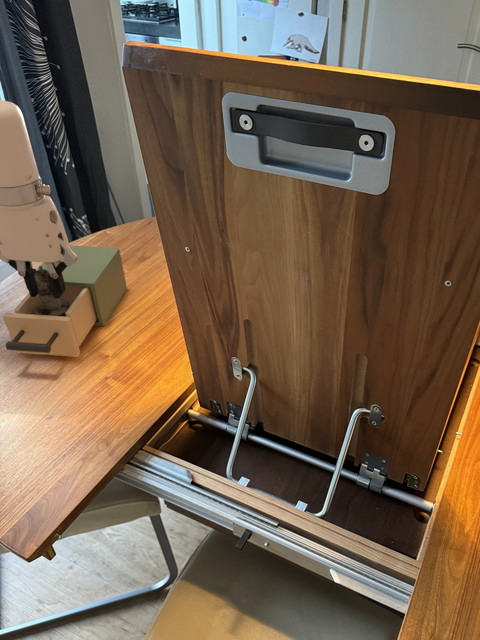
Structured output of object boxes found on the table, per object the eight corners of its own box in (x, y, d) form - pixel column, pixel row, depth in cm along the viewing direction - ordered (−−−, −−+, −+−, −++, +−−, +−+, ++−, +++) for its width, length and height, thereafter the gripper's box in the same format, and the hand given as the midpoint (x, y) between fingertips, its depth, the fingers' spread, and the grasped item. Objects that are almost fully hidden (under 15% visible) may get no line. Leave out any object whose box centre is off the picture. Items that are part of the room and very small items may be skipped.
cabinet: (103, 326, 101) (93, 283, 95) (41, 322, 102) (27, 279, 96) (127, 288, 113) (119, 248, 106) (70, 285, 113) (59, 244, 107)
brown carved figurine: (73, 313, 99) (58, 255, 91) (74, 330, 94) (58, 271, 87) (41, 318, 97) (22, 260, 90) (40, 335, 93) (20, 276, 85)
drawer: (66, 374, 89) (55, 337, 84) (2, 369, 89) (-13, 332, 84) (104, 315, 103) (96, 281, 98) (48, 312, 103) (37, 277, 98)
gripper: (78, 185, 82) (101, 286, 94) (-22, 180, 83) (13, 280, 95) (59, 203, 77) (86, 308, 88) (-49, 197, 78) (-8, 302, 89)
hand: (48, 293), depth 92 cm, fingers closed on brown carved figurine, 3 cm apart
